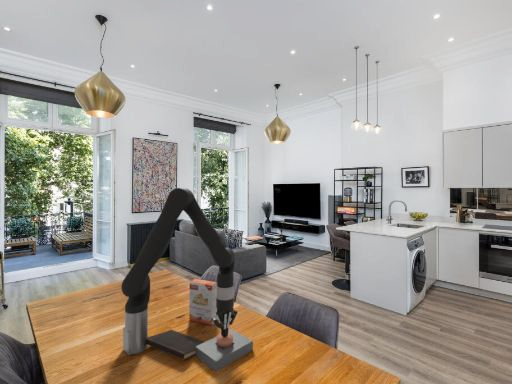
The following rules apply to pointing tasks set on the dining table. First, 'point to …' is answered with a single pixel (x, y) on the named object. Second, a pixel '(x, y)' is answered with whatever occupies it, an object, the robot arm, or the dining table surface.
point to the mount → (223, 351)
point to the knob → (224, 340)
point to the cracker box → (202, 301)
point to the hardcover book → (175, 344)
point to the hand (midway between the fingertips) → (224, 336)
